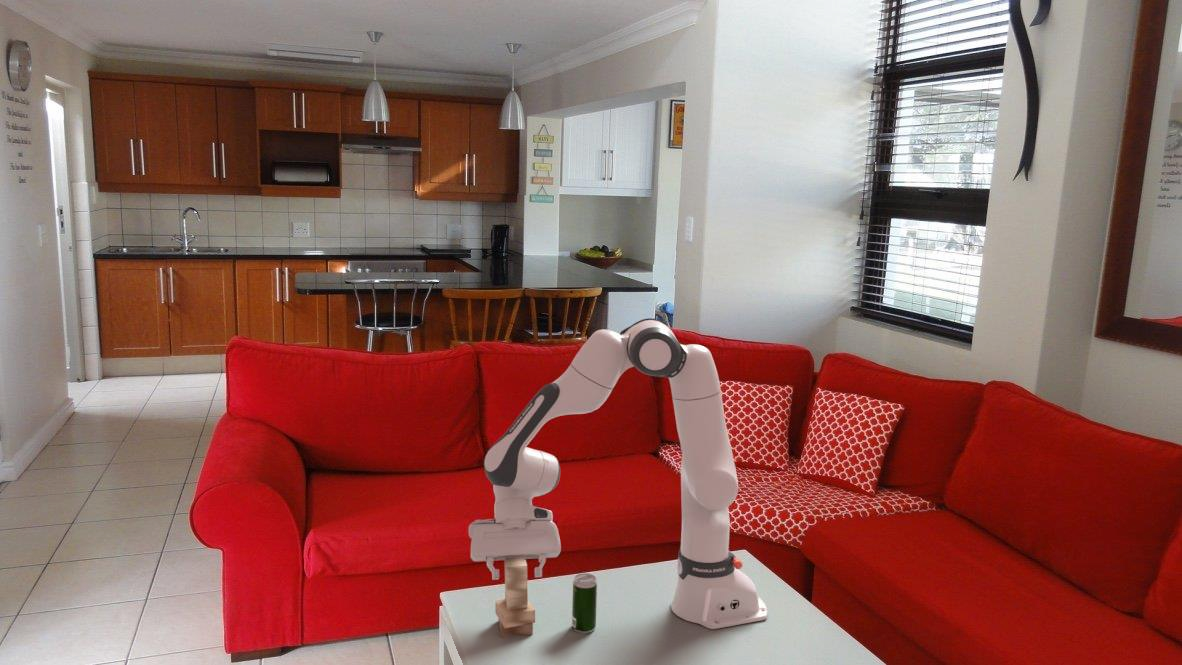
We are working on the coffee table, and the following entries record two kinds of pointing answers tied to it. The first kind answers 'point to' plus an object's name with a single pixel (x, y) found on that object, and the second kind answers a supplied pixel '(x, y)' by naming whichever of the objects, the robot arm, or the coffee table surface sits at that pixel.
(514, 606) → the tan block
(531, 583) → the coffee table surface
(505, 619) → the oak block
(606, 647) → the coffee table surface
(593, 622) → the beer can
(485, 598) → the coffee table surface
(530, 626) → the light brown flat block
